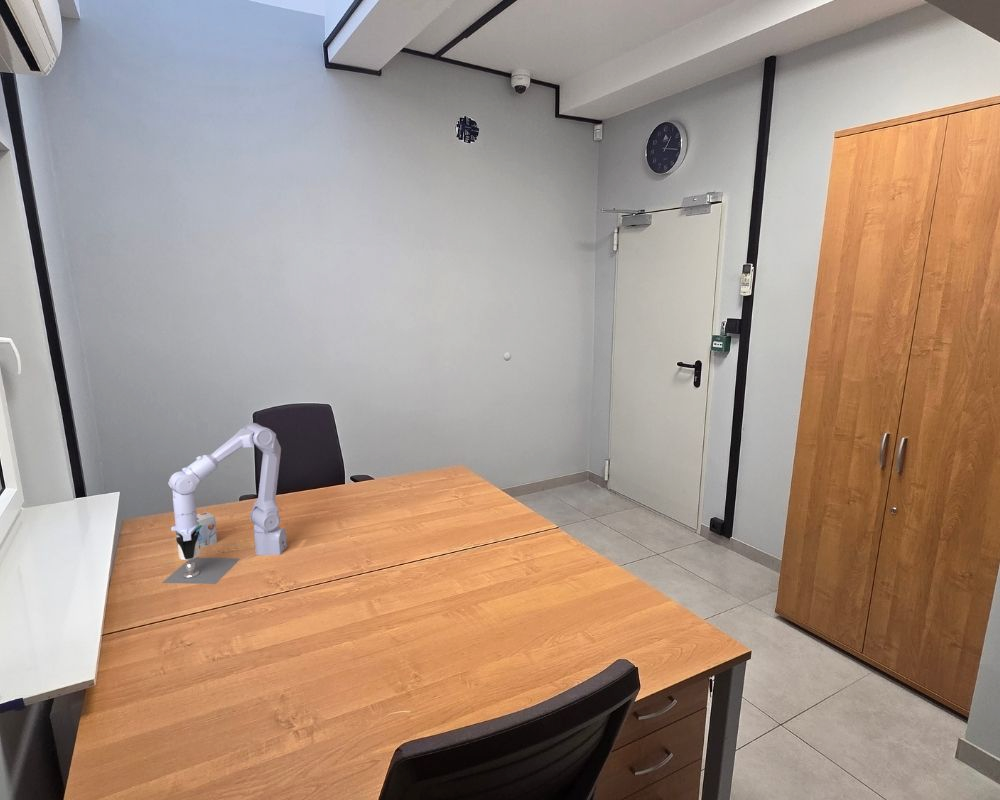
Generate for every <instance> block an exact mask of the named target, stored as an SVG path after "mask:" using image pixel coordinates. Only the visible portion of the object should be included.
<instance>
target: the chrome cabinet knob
mask: <svg viewBox="0 0 1000 800" xmlns="http://www.w3.org/2000/svg"><path fill="white" fill-rule="evenodd" d="M187 561H188V560H187ZM187 561H185V563H186V572H184V573H183V577H184V578H193V577H196V576H198V575H199V570H197V569H195V561H188V562H187Z"/></svg>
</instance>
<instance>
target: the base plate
mask: <svg viewBox="0 0 1000 800" xmlns="http://www.w3.org/2000/svg"><path fill="white" fill-rule="evenodd" d="M241 559H242V558H239V557H237V558H235V557H231V558H230V557H198V556H197V557H196V558H193V559H190V560H186V562H188V561H195V569H197V570H199V575H198V576H196V577H193V578H184V577H183V573H184V572H186V562H185V563H183V564H182V565H181V566H180V567H178V568H177V569H176V570H175V571H174V572H173V573H171V574H170V575H169V576H168V577H167V578H166V579H164V580H163V581H162V583H161V584H195V585H198V584H199V585H200V584H201V585H204V584H205V585H216V584H218V583H219V581H220V580H222V578H223V577H224V576H225V575H226V574H227V573H228V572H229V571H231V569H232V568H233V567H234V566H235V565H236V564H237V563H238V562H239V561H240V560H241Z"/></svg>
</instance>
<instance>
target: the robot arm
mask: <svg viewBox="0 0 1000 800" xmlns="http://www.w3.org/2000/svg"><path fill="white" fill-rule="evenodd" d="M254 445H255V446H254ZM254 447H256V448H257V449H259V450H260V451H261V452H262V458H261V459H262V460H261V470H260V478H259V487H258V495H257V496H258V497H257V499H256V500H255V501H254V502H253V506H252V509H251V512H250V514H249V519H250V521H251V522H252V523H253V524H254V526H253V537H254V538H253V540H254V550H255V551H254V552H255V555H258V556H280V555H282V554H283V552H284V551H285V550H286V548H287V546H288V544H287V532H286V529H285V528H284V527H279V525H280V523H281V517H280V514H279V509H280V508H279V506H278V504H277V502H276V497H277V488H278V479H279V470H280V464H281V463H280V461H281V452H282V447H281V445H280V443H279V440H278V438H277V434H276V433H275V432H274V431H273V430H272V429H270V428H269V427H265V426H262V425H260V424H259V423H257V422H250V423H248V424H247V425H245V426H244V427H242V428H240V429H238V431H237V432H236V433H235V434H234V435H233V436H232V437H231V438H229V440H227V441H226V442H224V443H223V444H222V445H221V446H220V447H218V448H216V450H215V451H213V452H212V453H211V454H203V455H198V456H197V457H196V458H195V459H196V460H194V462H192V463H191V464H189V465H187V466H185V467H183V468H181V471H176V472H174V473H173V474H172V475H171V476H170V478H169V479H168V480H169V481H168V482H167V484H168V486H169V487H170V489H172V503H173V513H174V515H173V516H174V524H175V525H173V526H171V527H170V530H171V531H170V532H176V531H177V532H178V534H179V535H180V537H175V540H176V544H177V543H178V544H179V545H180V547H181V549H182V551H183V555H184V557H185V559H190V558H193V557H194V550H195V544H196V541H197V540H198V535H195V533H196V530H197V528H198V523H197V514H198V513H197V505H196V504H197V503H196V495H195V490H196V488H197V487H198V484H200V482H201V481H203V480H204V479H206V478H207V477H208V476H210V475H211V474H212V473H214V472H215V471H217V469H218V466H219V463H221V462H222V461H224V460H225V459H226V458H228V457H230V456H231V455H233V454H234V453H236V452H237V451H239V450H240V449H242V448H244V449H245V448H254Z"/></svg>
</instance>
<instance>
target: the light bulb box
mask: <svg viewBox="0 0 1000 800" xmlns="http://www.w3.org/2000/svg"><path fill="white" fill-rule="evenodd" d="M196 514H197V523H198V528H197V530H196V533H195V535H198V542H199V550H200V549H203V548H205V547H209V546H211V545H214V544H215V545H216V544H217V543H218V537H217V527H216V522H217V521H216V516H215V515H213V514H211V513H209V512H208V511H203V512H200V513H196ZM175 535H176V537H175V538H177V537H180V535H179V534H178V532H177V531H175ZM176 545H177V546H176V547H177V549H178V543H177V542H176Z"/></svg>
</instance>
